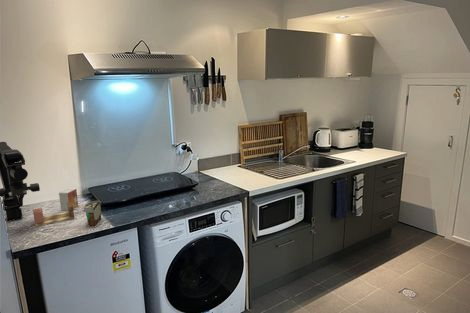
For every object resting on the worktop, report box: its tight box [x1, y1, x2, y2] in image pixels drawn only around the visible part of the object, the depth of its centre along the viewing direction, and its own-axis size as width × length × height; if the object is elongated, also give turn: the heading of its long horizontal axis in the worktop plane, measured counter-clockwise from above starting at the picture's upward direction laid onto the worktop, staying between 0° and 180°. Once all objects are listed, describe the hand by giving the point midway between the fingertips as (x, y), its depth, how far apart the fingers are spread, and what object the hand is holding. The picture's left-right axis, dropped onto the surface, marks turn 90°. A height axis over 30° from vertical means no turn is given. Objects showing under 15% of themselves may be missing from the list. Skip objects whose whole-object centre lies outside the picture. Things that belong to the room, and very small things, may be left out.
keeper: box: [32, 207, 44, 225], centre depth 174 cm, size 4×6×6 cm, turn 32°
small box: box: [58, 188, 79, 211], centre depth 195 cm, size 8×6×10 cm
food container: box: [83, 200, 102, 227], centre depth 173 cm, size 12×6×10 cm, turn 5°
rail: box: [34, 202, 76, 228], centre depth 178 cm, size 18×8×7 cm, turn 122°
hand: (20, 206), depth 169 cm, fingers closed
